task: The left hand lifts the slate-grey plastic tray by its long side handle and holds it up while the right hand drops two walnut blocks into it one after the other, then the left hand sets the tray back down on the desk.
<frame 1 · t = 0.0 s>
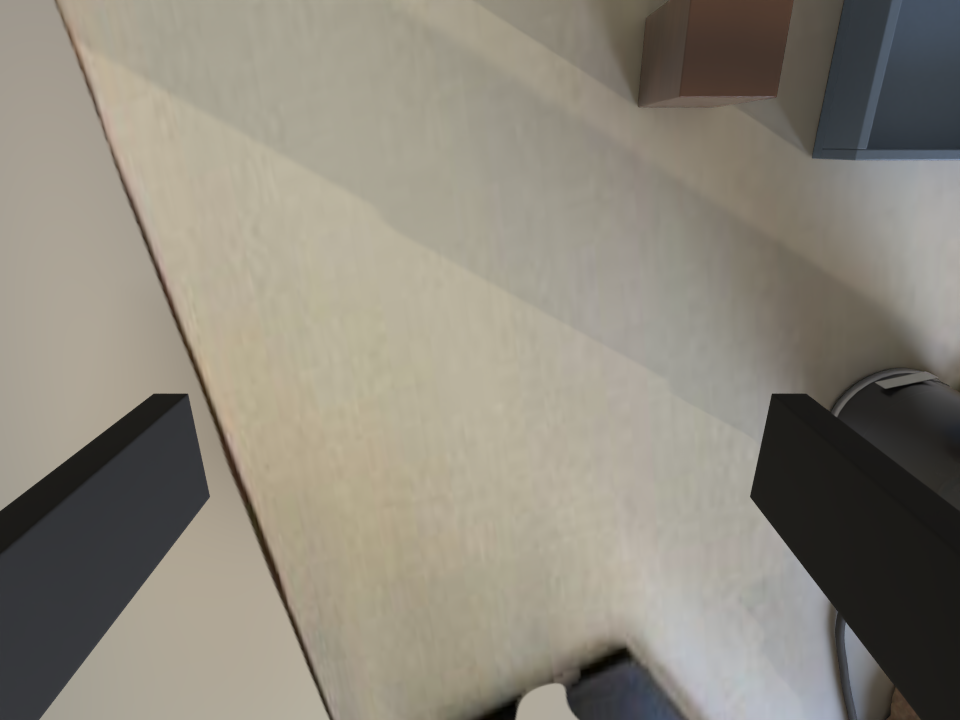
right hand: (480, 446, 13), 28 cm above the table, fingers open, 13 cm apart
tray: (945, 26, 34), on the table
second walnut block: (681, 63, 35), on the table
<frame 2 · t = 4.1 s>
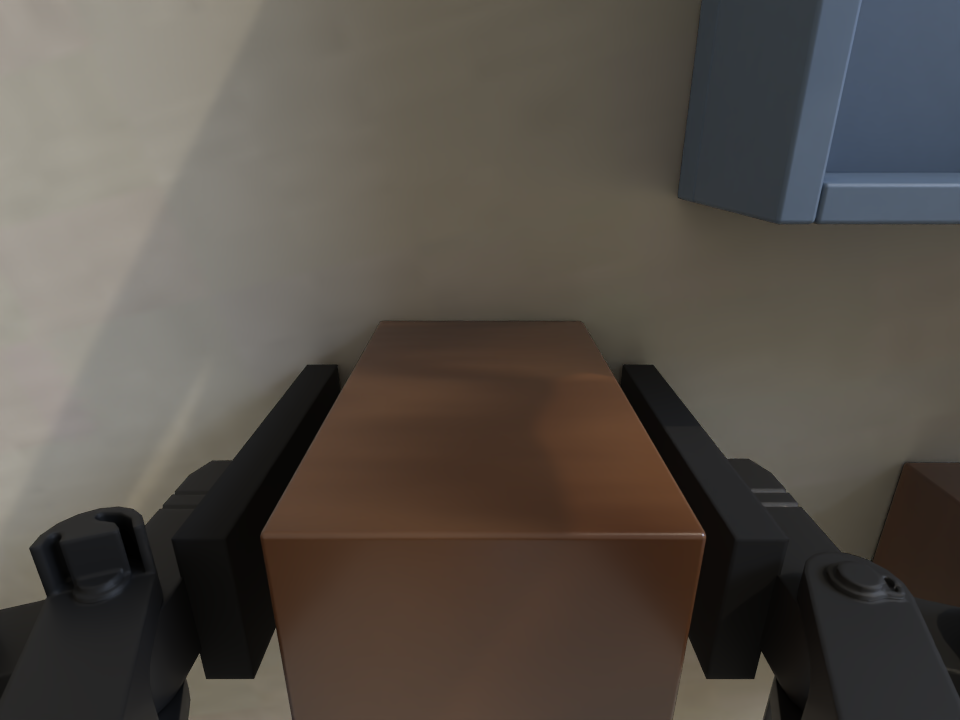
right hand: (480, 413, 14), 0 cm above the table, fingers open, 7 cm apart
walnut block: (481, 411, 14), on the table
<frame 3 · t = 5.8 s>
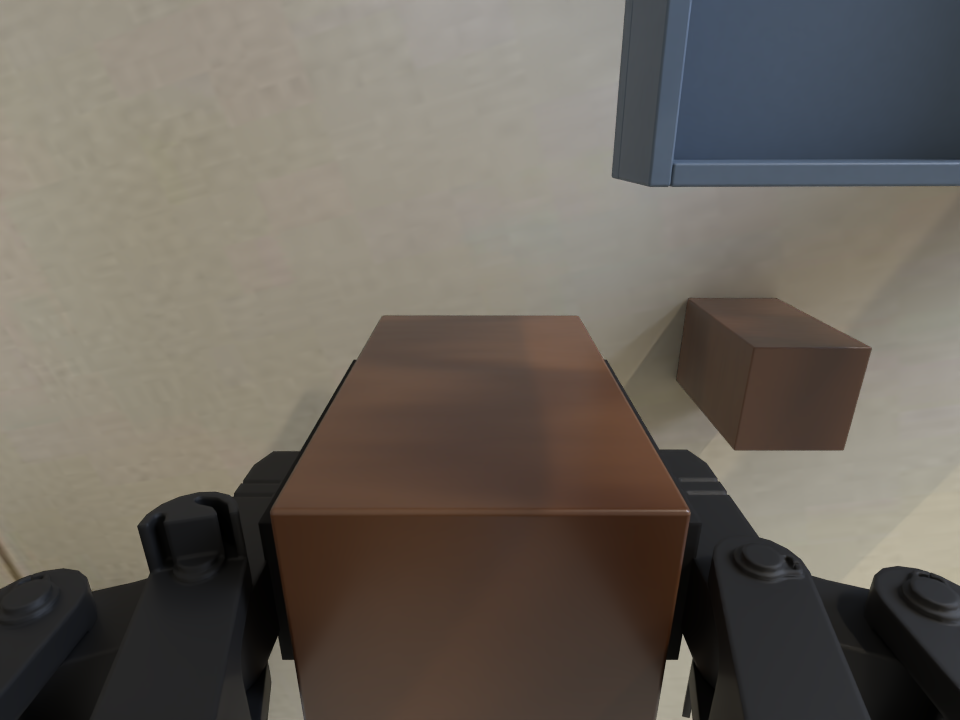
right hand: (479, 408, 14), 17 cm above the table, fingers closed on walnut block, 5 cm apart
walnut block: (480, 404, 15), point 16 cm above the table, touching right hand
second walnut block: (725, 340, 32), on the table
when the right hand's fingers open (17 cm above the table, at t = 7.5 s): walnut block drops 6 cm, resting on tray.
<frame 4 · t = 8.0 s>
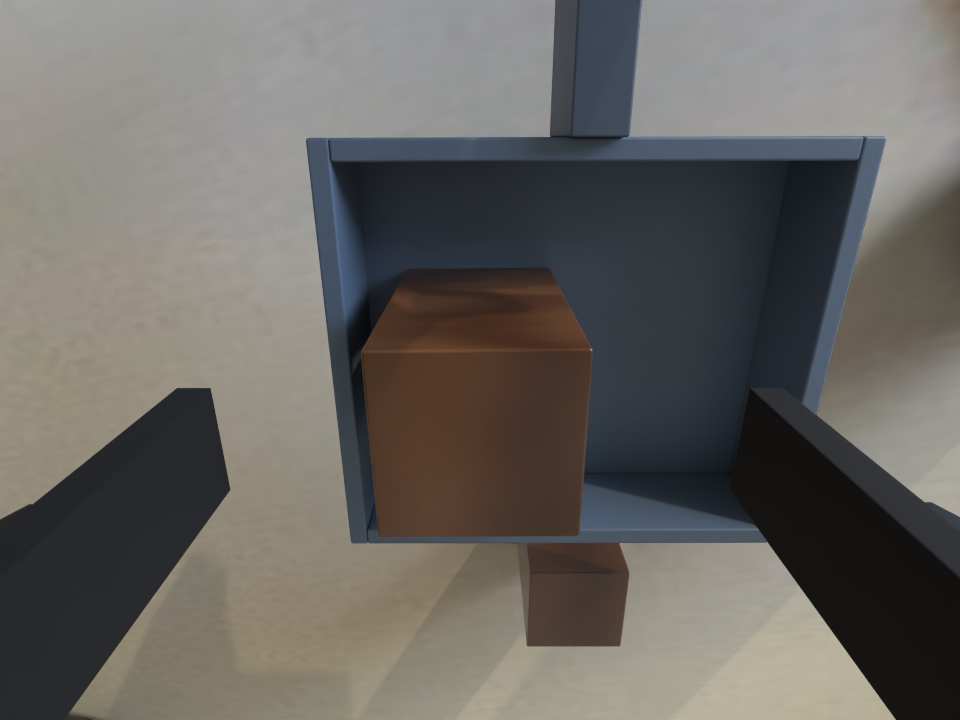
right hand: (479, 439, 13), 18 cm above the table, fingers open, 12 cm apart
walnut block: (478, 335, 20), point 11 cm above the table, touching tray
tray: (560, 324, 21), point 10 cm above the table, touching left hand, walnut block
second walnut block: (556, 514, 36), on the table
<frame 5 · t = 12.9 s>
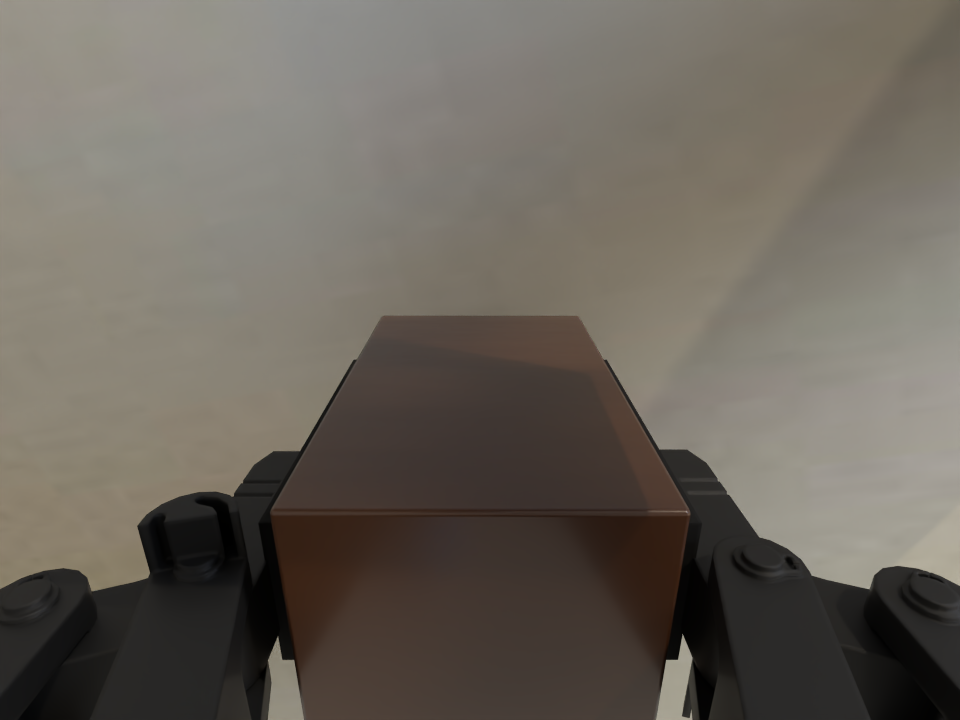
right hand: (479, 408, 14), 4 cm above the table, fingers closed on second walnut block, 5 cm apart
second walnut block: (480, 404, 15), point 4 cm above the table, touching right hand
when the right hand's fingers open (17 cm above the table, at t = 15.5 s): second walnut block drops 6 cm, resting on tray.
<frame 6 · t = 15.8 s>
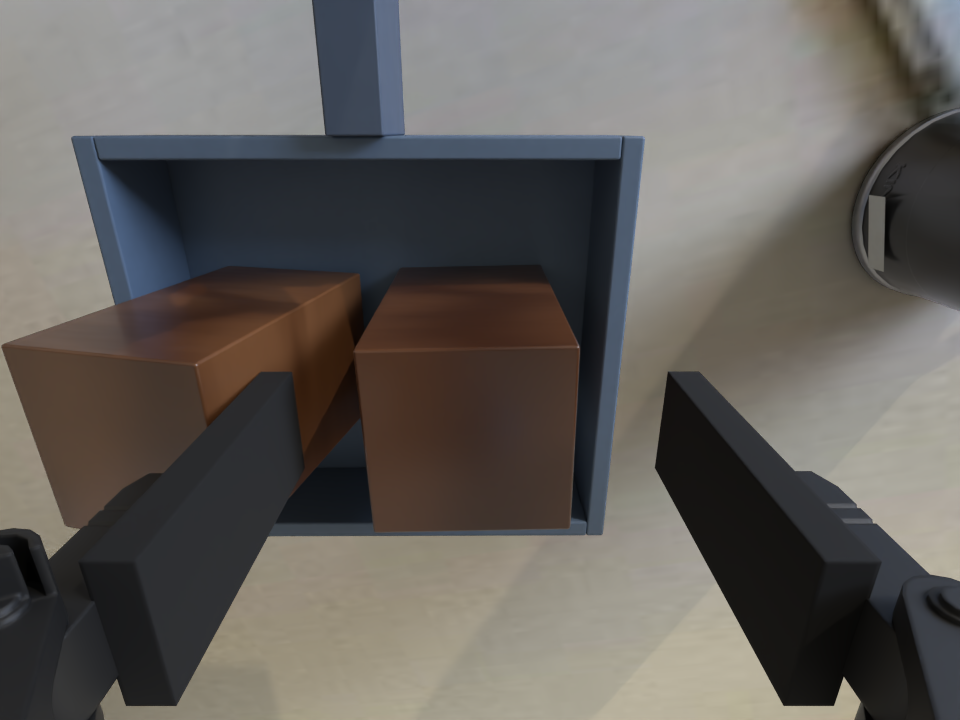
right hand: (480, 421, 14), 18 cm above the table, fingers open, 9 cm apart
walnut block: (301, 337, 20), point 11 cm above the table, tilted 13°, touching right hand, tray
tray: (395, 320, 21), point 10 cm above the table, touching left hand, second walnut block, walnut block
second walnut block: (472, 332, 20), point 10 cm above the table, touching tray
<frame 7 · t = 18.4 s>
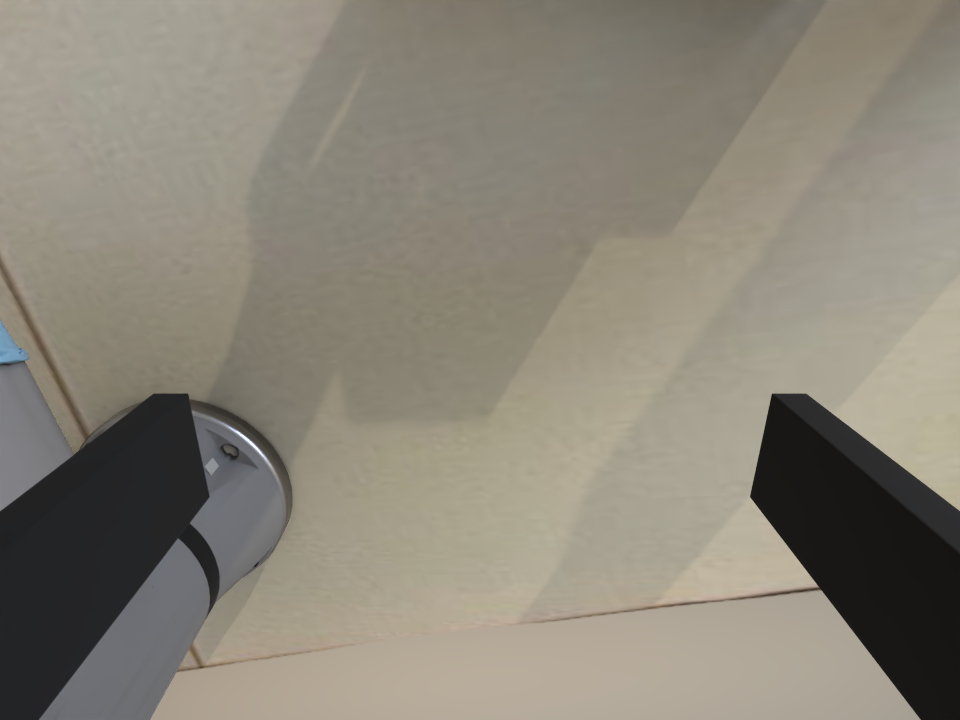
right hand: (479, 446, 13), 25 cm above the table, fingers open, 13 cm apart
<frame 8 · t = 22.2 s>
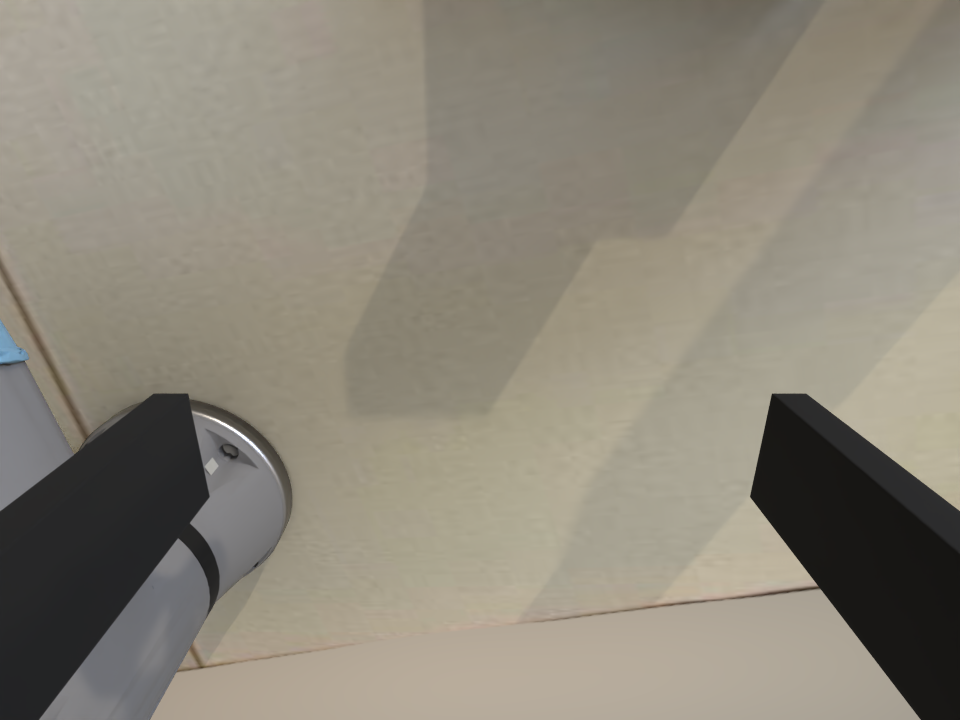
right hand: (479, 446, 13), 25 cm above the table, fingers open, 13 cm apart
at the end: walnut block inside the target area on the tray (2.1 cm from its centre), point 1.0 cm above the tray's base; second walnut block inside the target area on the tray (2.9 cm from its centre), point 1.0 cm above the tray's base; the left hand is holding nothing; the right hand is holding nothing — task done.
